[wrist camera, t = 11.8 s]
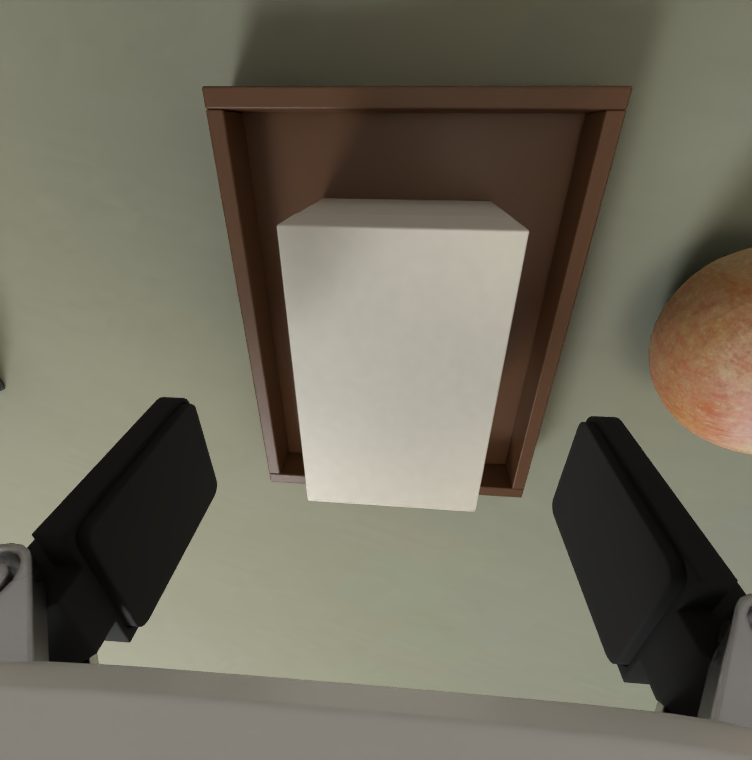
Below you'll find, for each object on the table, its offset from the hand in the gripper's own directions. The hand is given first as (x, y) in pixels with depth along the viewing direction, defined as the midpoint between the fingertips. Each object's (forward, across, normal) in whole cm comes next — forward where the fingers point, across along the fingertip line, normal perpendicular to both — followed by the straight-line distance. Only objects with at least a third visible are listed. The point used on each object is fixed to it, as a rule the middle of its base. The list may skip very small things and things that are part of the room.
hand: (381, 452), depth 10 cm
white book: (+5, 0, 0) cm, 5 cm away
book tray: (+10, 0, +1) cm, 10 cm away
